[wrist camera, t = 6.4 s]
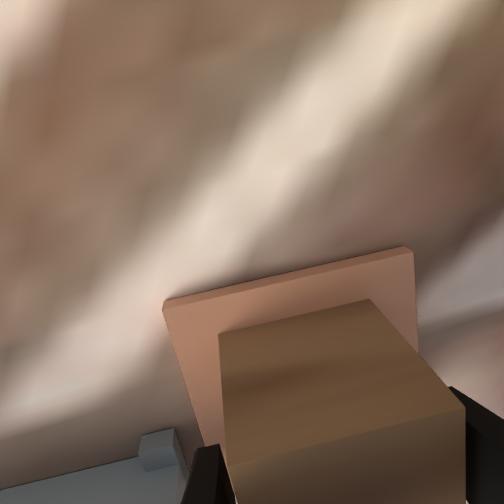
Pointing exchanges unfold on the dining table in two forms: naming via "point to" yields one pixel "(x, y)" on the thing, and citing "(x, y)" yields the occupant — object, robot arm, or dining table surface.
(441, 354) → the dining table surface
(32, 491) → the grey block with tabs
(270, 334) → the brown cube
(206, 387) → the coaster
